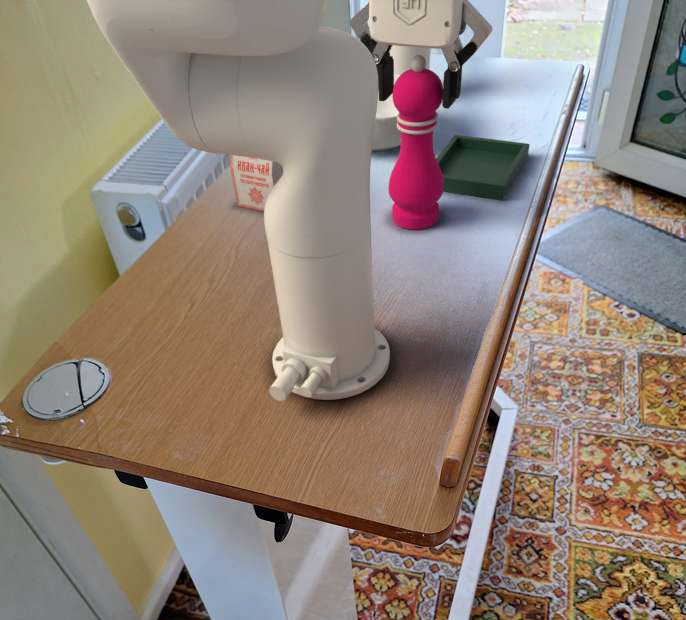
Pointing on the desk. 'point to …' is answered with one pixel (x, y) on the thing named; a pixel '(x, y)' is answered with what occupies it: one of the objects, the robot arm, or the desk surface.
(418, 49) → the pill bottle
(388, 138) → the cereal bowl
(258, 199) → the printed tea carton
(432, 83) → the pepper mill
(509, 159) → the tray
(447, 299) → the desk surface
